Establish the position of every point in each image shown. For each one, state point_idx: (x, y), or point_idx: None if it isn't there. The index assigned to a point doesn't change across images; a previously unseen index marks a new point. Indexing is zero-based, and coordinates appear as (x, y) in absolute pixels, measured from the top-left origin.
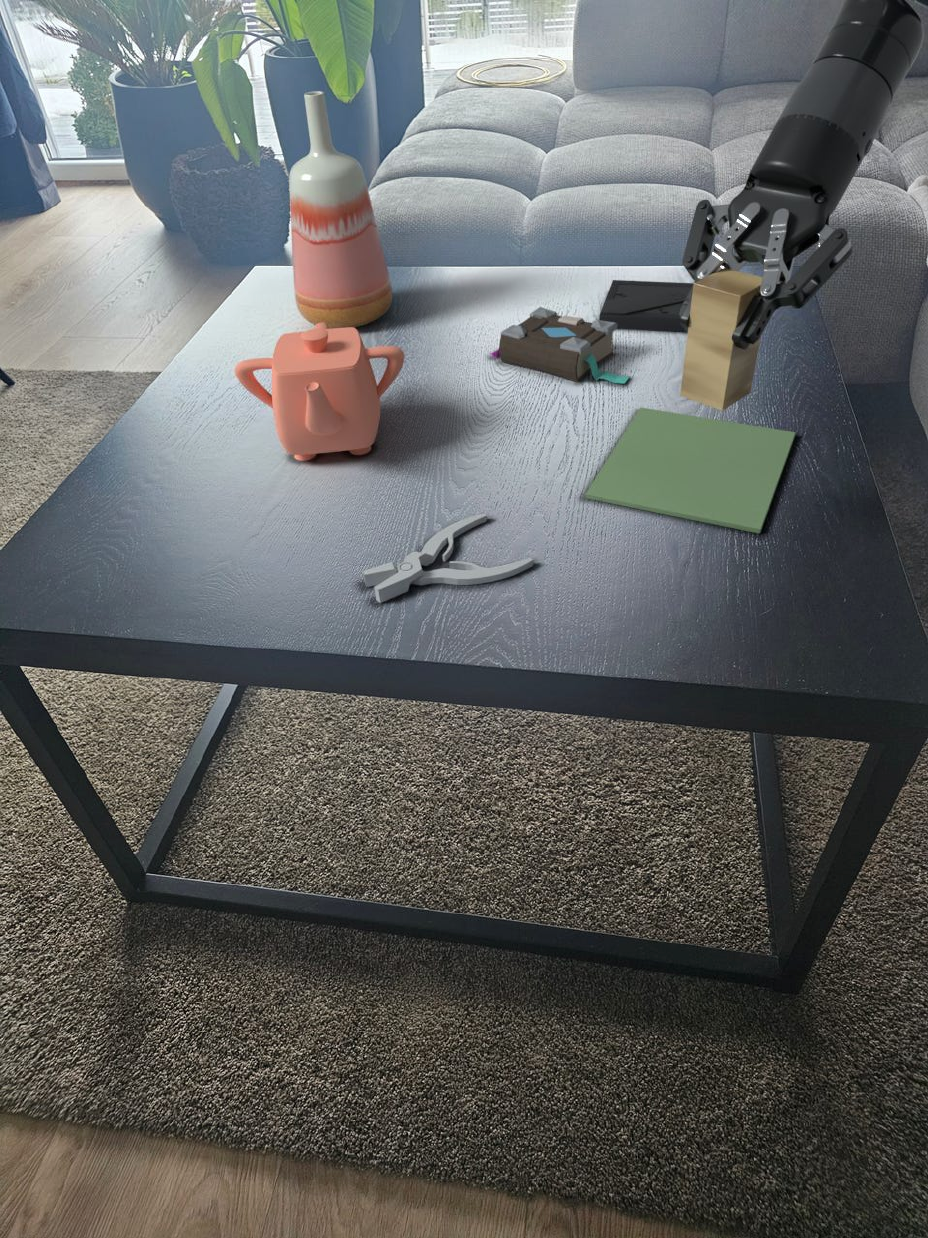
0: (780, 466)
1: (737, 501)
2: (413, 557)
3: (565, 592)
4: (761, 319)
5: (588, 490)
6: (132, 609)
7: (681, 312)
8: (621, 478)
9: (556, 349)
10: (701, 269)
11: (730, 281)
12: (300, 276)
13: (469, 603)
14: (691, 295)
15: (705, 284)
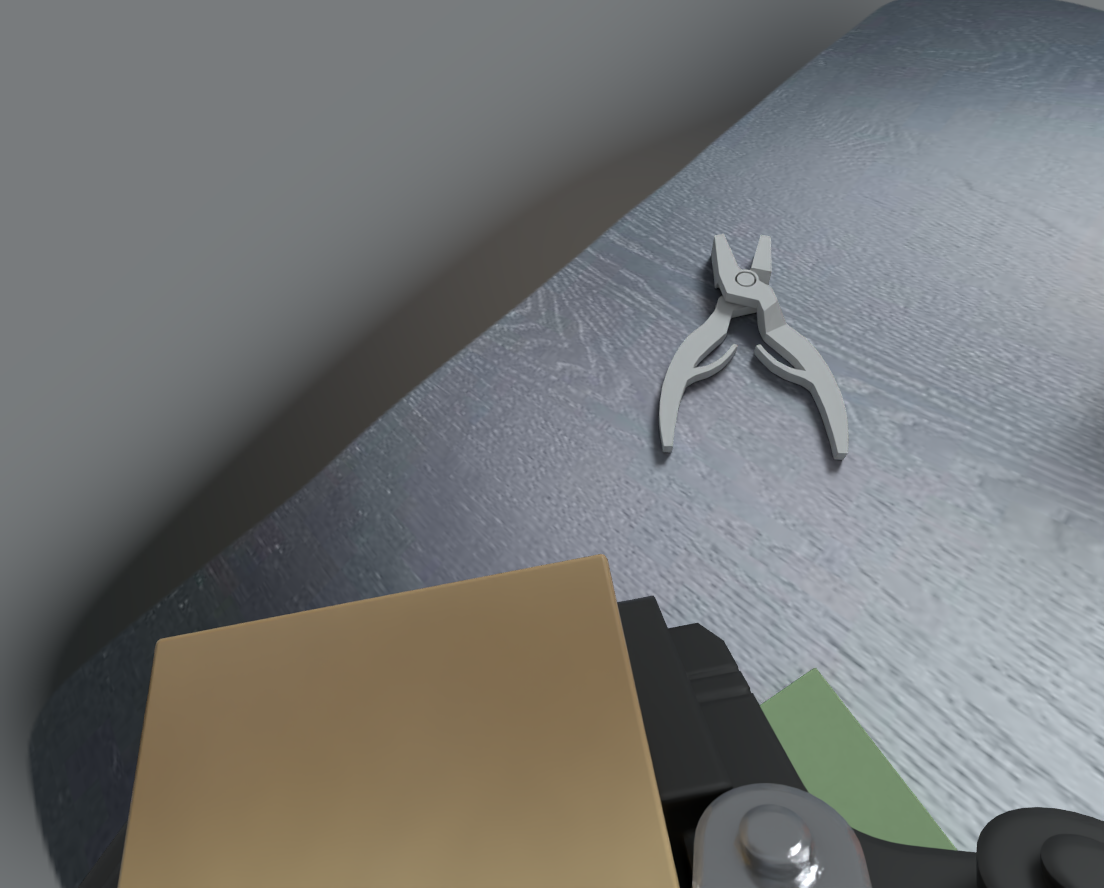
0: None
1: None
2: (761, 294)
3: (572, 454)
4: None
5: (824, 682)
6: (861, 68)
7: (697, 638)
8: (834, 793)
9: None
10: (800, 833)
11: (394, 846)
12: None
13: (639, 338)
14: (726, 716)
15: (520, 609)
